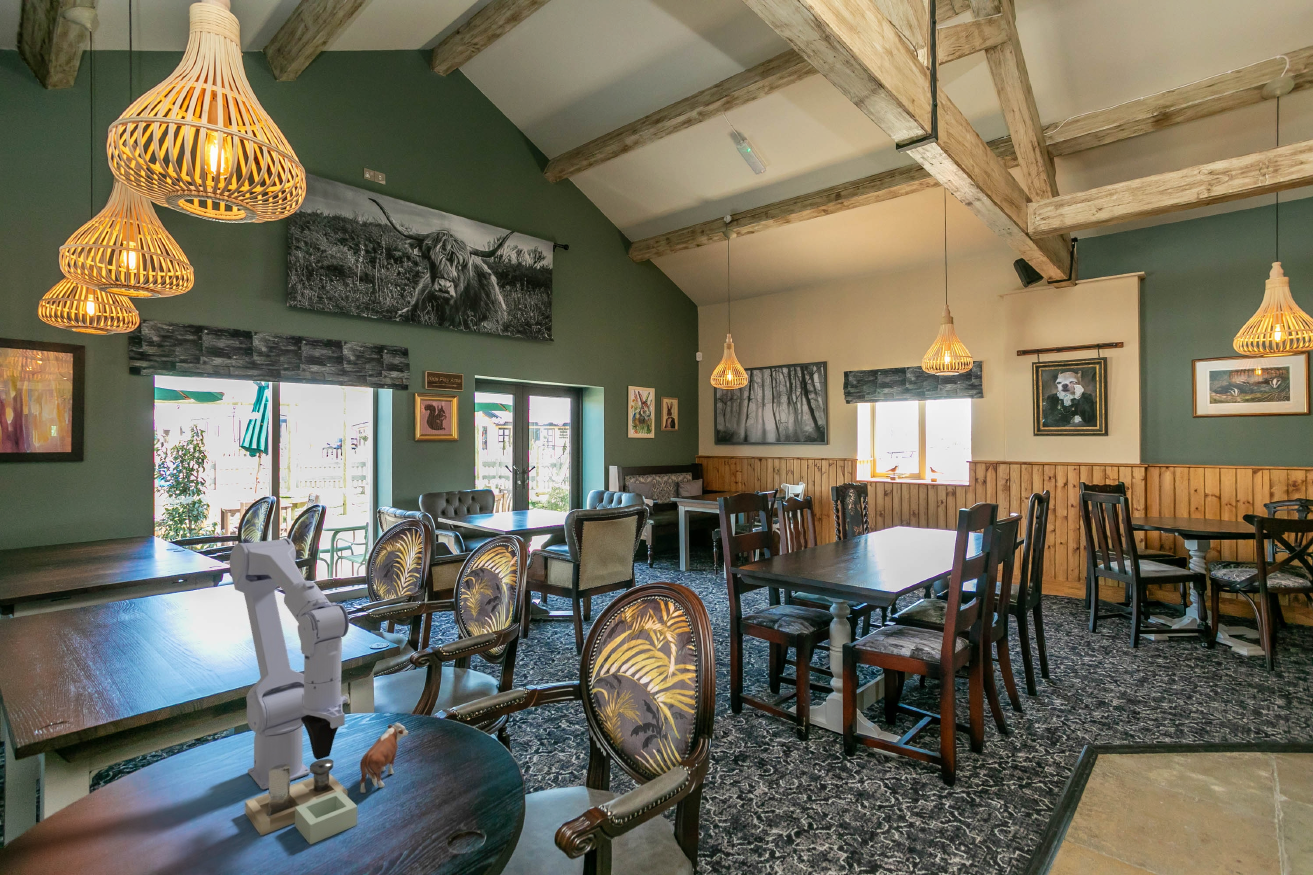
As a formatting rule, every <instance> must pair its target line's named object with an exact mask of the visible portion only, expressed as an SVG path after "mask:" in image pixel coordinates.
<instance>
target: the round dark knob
mask: <svg viewBox="0 0 1313 875" xmlns="http://www.w3.org/2000/svg"><path fill="white" fill-rule="evenodd" d="M333 768H334V760H333V759H330V758H322V759H319V760H315V761H314V762H312V763H311V764H310V765H309V770H310V774H312V775H313V777H314V789H313V790H314V791H315V792H321V791H324V790H326V789H328V788H329V774H330V771H331V770H332V769H333Z"/></svg>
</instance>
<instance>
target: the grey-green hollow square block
mask: <svg viewBox="0 0 1313 875" xmlns="http://www.w3.org/2000/svg"><path fill="white" fill-rule="evenodd" d="M357 825H358V805H357V804H355V802H354V801H352V799H350V797H348V795H347V796H346V795H345V794H344V793H343V792H342V791H341V790H340V791H337V792H334V793H332V794H329V795H326V796H324V797H321V798H318V799H316V800H313V801H310V802H308V803H305V804H303V805H300V806H297V807H295V823H294V826H295V828H296V829H297V830H298V832H299V833H300V834H301V835H302V837H303V838H304V839H305V840H306V841H307V843H308V844H309V845H313V844H315V843H317V842H320V841H323V840H324V839H325V840H326V839H327V838H330V837H332V836H334V835H337V834H339V833H342V832H344V831H346V830H349V829H351V828H354V827H355V826H357Z"/></svg>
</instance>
